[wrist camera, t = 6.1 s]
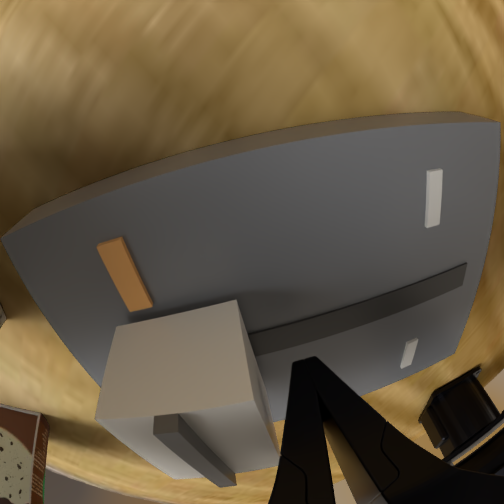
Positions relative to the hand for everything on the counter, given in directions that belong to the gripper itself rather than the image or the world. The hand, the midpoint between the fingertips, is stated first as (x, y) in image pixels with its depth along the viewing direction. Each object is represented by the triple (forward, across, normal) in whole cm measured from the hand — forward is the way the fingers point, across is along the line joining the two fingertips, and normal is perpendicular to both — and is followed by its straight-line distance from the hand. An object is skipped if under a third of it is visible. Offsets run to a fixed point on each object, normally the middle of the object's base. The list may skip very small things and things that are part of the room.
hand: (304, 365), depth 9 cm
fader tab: (+1, +3, 0) cm, 4 cm away
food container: (+4, +24, +9) cm, 27 cm away
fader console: (+4, 0, 0) cm, 4 cm away
